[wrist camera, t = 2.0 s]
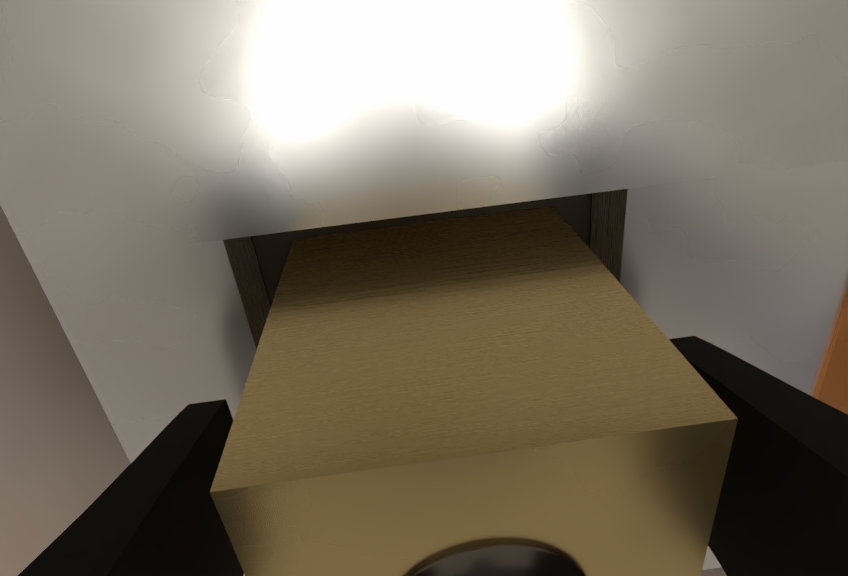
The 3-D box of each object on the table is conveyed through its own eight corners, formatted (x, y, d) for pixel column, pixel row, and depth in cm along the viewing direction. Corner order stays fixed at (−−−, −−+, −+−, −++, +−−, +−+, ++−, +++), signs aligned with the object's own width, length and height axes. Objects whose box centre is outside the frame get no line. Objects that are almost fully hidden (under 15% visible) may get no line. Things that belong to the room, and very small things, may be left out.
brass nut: (552, 205, 10) (742, 423, 5) (549, 404, 13) (676, 695, 7) (293, 238, 10) (207, 498, 5) (339, 433, 13) (315, 749, 7)
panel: (1547, -205, 8) (1781, -246, 7) (1091, 460, 15) (1163, 507, 14) (-37, -28, 8) (-127, -34, 6) (233, 582, 15) (219, 644, 13)
